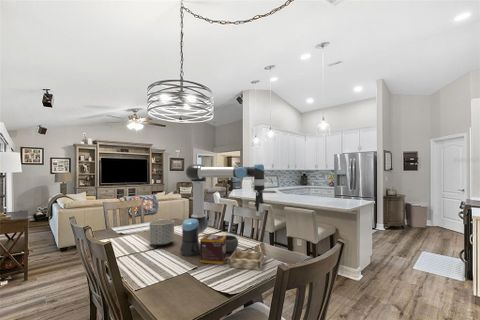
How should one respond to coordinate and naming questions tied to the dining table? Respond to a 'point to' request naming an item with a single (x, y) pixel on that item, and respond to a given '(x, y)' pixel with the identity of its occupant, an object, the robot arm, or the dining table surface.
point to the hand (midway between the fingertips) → (259, 213)
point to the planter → (161, 232)
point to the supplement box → (213, 249)
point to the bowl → (231, 243)
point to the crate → (246, 260)
